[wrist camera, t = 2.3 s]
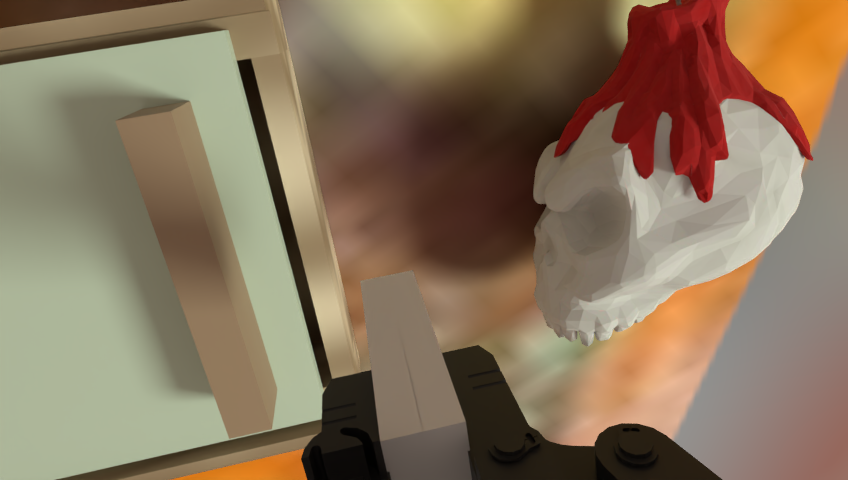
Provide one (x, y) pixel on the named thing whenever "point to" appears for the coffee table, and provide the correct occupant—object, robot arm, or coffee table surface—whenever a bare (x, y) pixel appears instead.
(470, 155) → the coffee table surface
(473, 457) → the robot arm
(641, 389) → the coffee table surface
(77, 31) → the box
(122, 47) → the lid
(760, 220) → the candle
